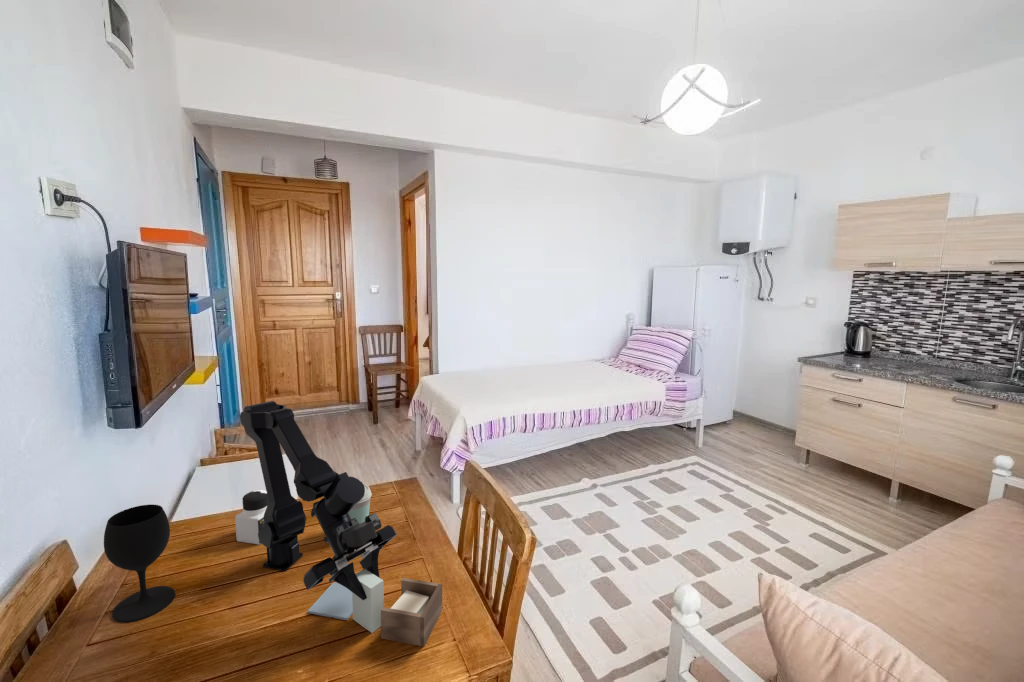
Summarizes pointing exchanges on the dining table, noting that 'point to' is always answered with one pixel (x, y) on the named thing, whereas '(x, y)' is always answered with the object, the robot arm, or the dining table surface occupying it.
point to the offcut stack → (411, 602)
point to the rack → (413, 615)
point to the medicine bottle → (251, 517)
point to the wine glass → (138, 557)
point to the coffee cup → (362, 506)
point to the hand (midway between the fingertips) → (372, 594)
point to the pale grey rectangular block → (369, 601)
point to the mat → (334, 603)
